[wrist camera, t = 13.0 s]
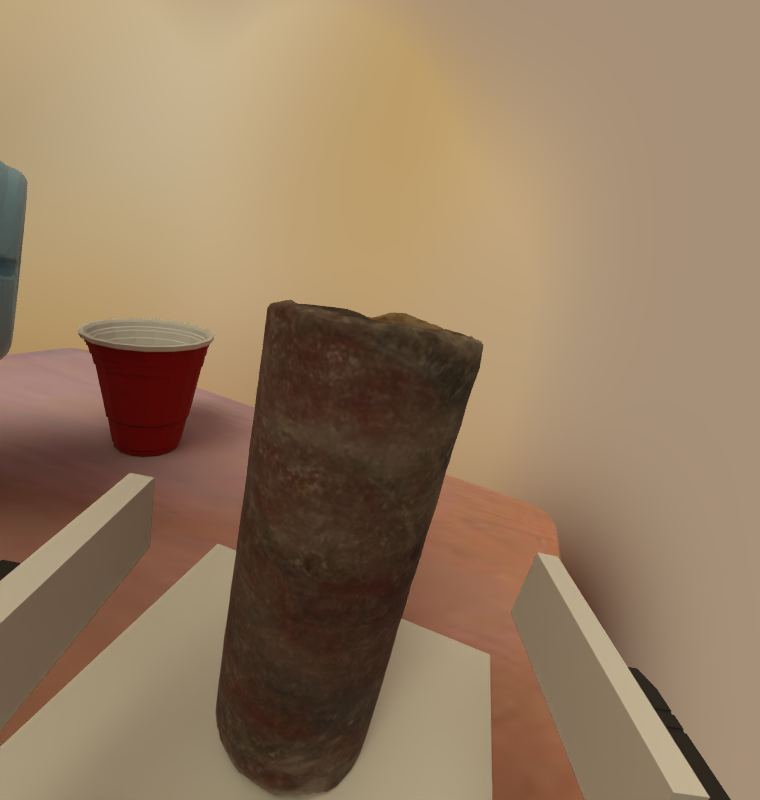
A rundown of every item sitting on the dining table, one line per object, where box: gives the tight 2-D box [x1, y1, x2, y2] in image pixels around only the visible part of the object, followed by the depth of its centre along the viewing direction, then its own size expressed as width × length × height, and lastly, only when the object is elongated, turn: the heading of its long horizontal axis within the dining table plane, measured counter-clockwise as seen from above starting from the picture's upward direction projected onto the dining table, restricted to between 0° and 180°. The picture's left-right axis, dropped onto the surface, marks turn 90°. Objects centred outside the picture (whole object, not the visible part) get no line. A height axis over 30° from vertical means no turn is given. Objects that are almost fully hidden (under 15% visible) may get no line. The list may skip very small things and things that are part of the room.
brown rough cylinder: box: [215, 300, 483, 796], centre depth 16 cm, size 8×7×20 cm
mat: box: [0, 544, 492, 800], centre depth 19 cm, size 20×16×1 cm
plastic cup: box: [78, 318, 214, 456], centre depth 38 cm, size 11×11×12 cm
